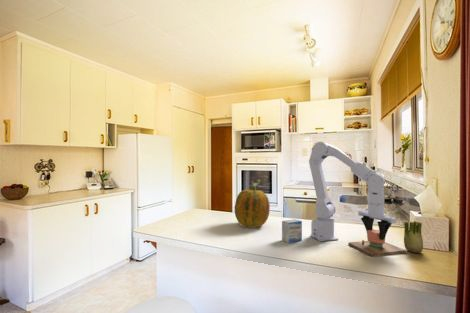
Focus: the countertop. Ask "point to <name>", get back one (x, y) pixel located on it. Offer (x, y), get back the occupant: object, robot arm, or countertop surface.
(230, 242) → the countertop surface
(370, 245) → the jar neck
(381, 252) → the board
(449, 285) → the countertop surface
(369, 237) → the lid
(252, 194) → the pumpkin
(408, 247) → the fennel bulb
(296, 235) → the medicine box
